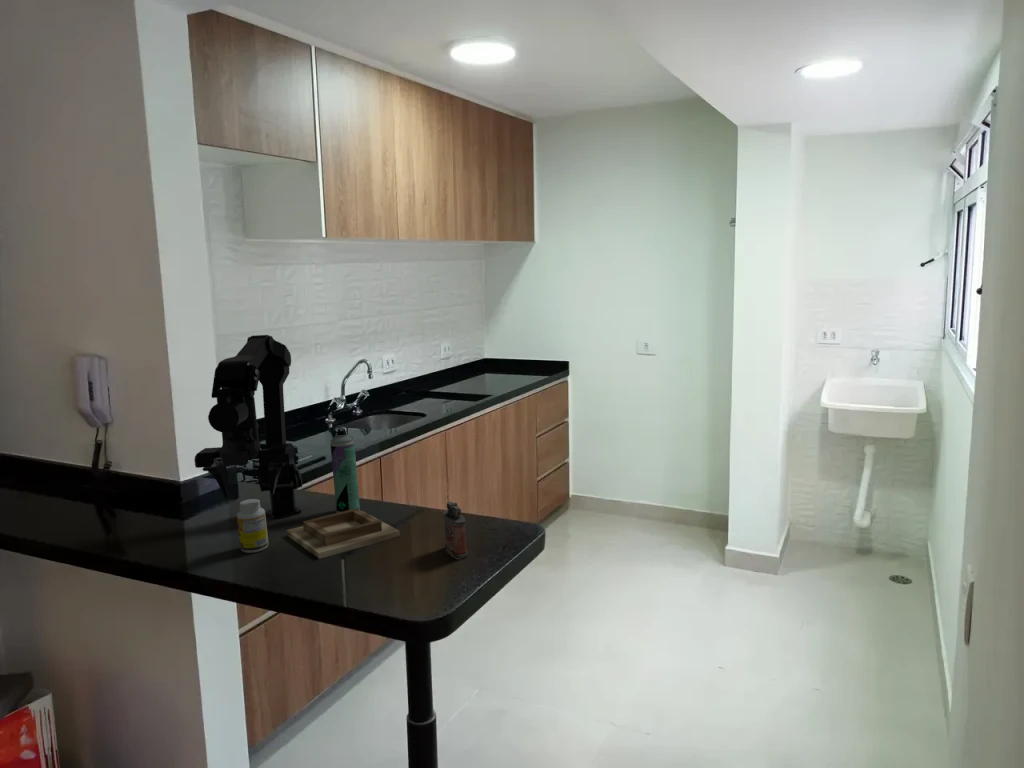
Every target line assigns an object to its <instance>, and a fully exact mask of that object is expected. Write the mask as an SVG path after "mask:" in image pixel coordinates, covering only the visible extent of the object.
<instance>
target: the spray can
mask: <svg viewBox="0 0 1024 768" xmlns="http://www.w3.org/2000/svg"><path fill="white" fill-rule="evenodd" d="M330 453H331V455H330V456H331V465H332V466H331V467H332V475H333V476H332V477H333V486H334V498H335V499H334V500H335V510H336V513H339V512H343V511H347V510H351V509H358V510H360V511H361V509H360V508H361V506H360V505H361V504H360V494H359V493H360V491H359V482H358V470H357V468H358V467H357V459H356V446H355V440H354V437H353V436H350V435H349V433H347V431H346V429H345V428H343V427H342V428H337V432H336V434H335V436H334V437H333V438H331V439H330Z"/></svg>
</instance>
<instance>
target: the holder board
mask: <svg viewBox="0 0 1024 768" xmlns="http://www.w3.org/2000/svg"><path fill="white" fill-rule="evenodd" d="M286 535H287V537H289V538H290V539H292V541H294V542H296V543H297V544H298V545H300V546H301V547H302V548H304V549H305V550H306V551H308V552H309V553H311V554H312V555H313V556H315V557H316V558H318V559H319V560H320V559H324V558H327V557H330V556H331V557H332V556H334V555H338V554H342V553H346V552H349V551H353V550H356V549H359V548H363V547H366V546H371V545H374V544H378V543H380V542H384V541H387V540H392V539H395V538H399V537H401V532H400V530H399V529H397V528H395V527H393V526H391V525H390V524H387V523H385V522H384V521H382V520H380V519H379V518H376V517H374V516H373V515H370V514H369V513H367V512H365V511H362V510H361V509H360V510H358V509H351V510H347V511H343V512H339V513H337V512H336V513H332V514H327V515H324V516H323V515H322V516H320V517H316V518H315V517H314V518H311V519H308V520H303V521H302V526H298V527H294V528H290V529H287V530H286Z"/></svg>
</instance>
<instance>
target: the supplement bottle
mask: <svg viewBox="0 0 1024 768" xmlns="http://www.w3.org/2000/svg"><path fill="white" fill-rule="evenodd" d="M236 518H237V520H236V521H237V527H238V528H237V530H238V536H239V546H240V550H241V551H242V552H243V553H246V554H254V553H260V552H262V551H264V550H266V549H267V548H268V547H269V535H268V526H267V518H266V511H265V509H264V508H263V507H261V500H259V499H257V498H251V499H244V500H242V501H240V502H239V511H238V512H237V514H236Z"/></svg>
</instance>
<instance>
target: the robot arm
mask: <svg viewBox="0 0 1024 768" xmlns="http://www.w3.org/2000/svg"><path fill="white" fill-rule="evenodd" d="M246 340H247V341H246V343H245V344H244V346H243V347H242V348H241V349H240V350H239V351H238V353H237V354H236V355H235V356H231V357H227V358H224V359H223V360H220V362H218V364H217V366H216V367H215V368H214V369H215V370H214V375H213V380H212V381H213V382H212V390H211V398H212V399H216V404H215V405H213V406H212V407H211V408H210V410H209V412H208V415H207V420H208V423H209V425H210V427H212V428H213V429H214V431H217V432H219V433H225V440H224V442H223V443H222V445H221V447H219V446H218V447H205V448H203V449H201V450H200V451H198V452H197V453H196V455H194V466H195V468H197V469H200V468H201V469H202V471H203V472H208V474H209V473H210V474H211V475H212V477H213V478H214V479H215V480H216V482H217V484H218V486H219V488H220V490H221V492H222V493H223V495H224V497H225V498H226V499H227V498H229V497H230V487H229V486H230V485H229V477H228V471H227V470H228V469H227V467H230V466H239V467H243V466H247V464H248V463H249V460H258V467H257V473H256V474H257V479H258V485H259V488H260V492H261V493H263V492H267V491H268V492H269V501H270V502H269V503H270V508H269V509H266V511H265V513H266V514H268V515H269V516H271V517H272V518H273V519H280V518H285V517H287V516H292V515H296V514H301V513H302V509H300V508H299V507H297V505H296V503H297V502H296V494H295V490H298V489H299V488H303V482H302V481H303V479H302V474H301V472H300V470H299V468H298V465H297V464H296V463H295V456H296V451H295V446H294V445H293V444H292V443H291V442H289V443H288V442H287V435H286V432H287V431H286V419H285V417H286V416H285V400H284V398H285V397H284V384H285V382H286V380H287V378H288V376H289V375H290V367H291V365H292V355H291V352H290V350H289V349H288V347H287V345H286V344H284V343H282V342H280V341H277V340H276V339H274V337H273V336H272V335H269V334H259V335H255V334H254V335H251V336H248V337H247V339H246ZM259 383H260V384H261V386H262V401H263V418H264V419H263V420H264V436H265V438H264V439H265V448H264V449H263V448H262V449H261V447H262V444H261V441H260V440H259V439H260V437H259V428H260V425H259V422H258V421H257V411H256V401H255V393H256V391H257V390H258V385H259Z"/></svg>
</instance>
